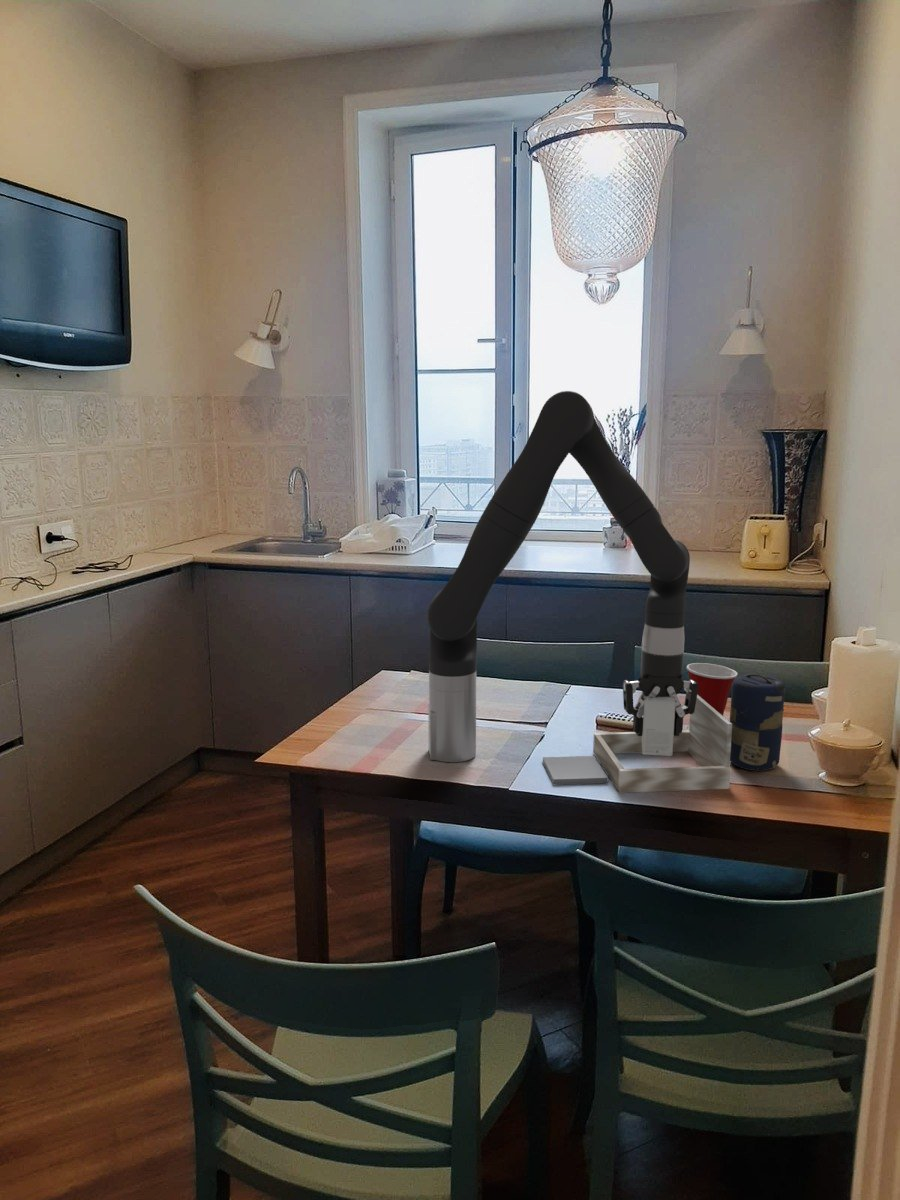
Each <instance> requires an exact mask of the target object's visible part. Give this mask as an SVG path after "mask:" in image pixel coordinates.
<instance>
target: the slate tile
mask: <svg viewBox="0 0 900 1200" xmlns="http://www.w3.org/2000/svg"><path fill="white" fill-rule="evenodd" d="M542 764H543V766H544V768H545V770H546V772H547V774H548V777H549V779H550V781H551V783H552V784H557V785H577V784H578V785H581V784H586V785H587V784H608V782H609V781H608V780H609V779H608V778H609V776H608V774H607V773H606V771H605V770H604V768H603V767H602V765H601V764H600V762H599V761H598V759H597V758H596V756H595V755H581V756H580V755H579V756H576V755H574V756H571V755H570V756H544V757H542Z"/></svg>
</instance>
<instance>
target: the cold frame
mask: <svg viewBox="0 0 900 1200" xmlns="http://www.w3.org/2000/svg"><path fill="white" fill-rule="evenodd" d="M688 725H689V730H688V729H687V730H682V733H679V736H674V737H673V753H675V752H677V753H679V752H688V753H689V754H690V755H691V756H692V757H693V758H694V760H696V762H698V764H700V765H701V766H679V767H678V766H677V767H675V766H674V767H647V768H645V767H644V768H641V767H640V768H624V766H623V765H622V763H621V762H620V761H619V759H618V758H617V756H616V755H615V754H637V753H638V754H639V753H640V754H642V736H637V734H636V733H635V732H634V731H626V732H625V731H624V732H618V731H617V732H593V742H592V743H593V746H592V747H593V748H592V749H593V750H592V753H593V754H594V757H595V758H596V760H597V761H598V763H599V764H600V766H601V767H602V769H603V770H604V772H605V774H606V775H607V777H608V778H609V779H610V780H611V782H612V783H613V784H614V786H615V788H616V790H617V791H618V792H619V793H645V792H646V793H647V792H648V793H649V792H676V791H677V792H679V791H706V790H708V791H709V790H730V784H731V771H732V769H731V766H730V765H731V761H730V753H731V737H732V723H730V720H728V719H727V718H726V717H724V715H723V716H722V715H721V714H720V713H719V712H717V711H716V710H715V709H714V708H713V707H712V706H710V705H709V704H708V703H707V702H706V701H704V700H703V699H702V698H701V697H700V696H699V695H697V699H696V705H695V711H694V713H693V714H689V724H688Z"/></svg>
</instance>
